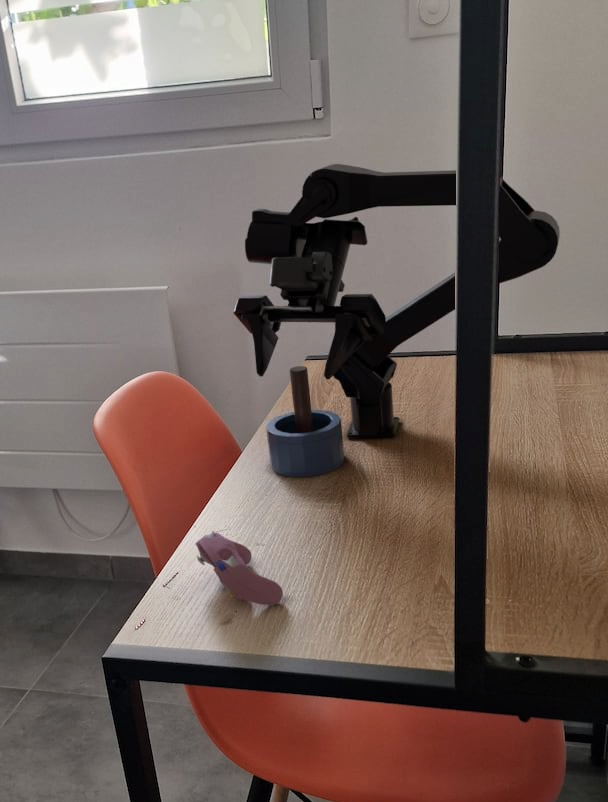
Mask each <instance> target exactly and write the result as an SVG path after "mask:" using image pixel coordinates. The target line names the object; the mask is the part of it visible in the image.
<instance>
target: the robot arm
mask: <svg viewBox="0 0 608 802" xmlns="http://www.w3.org/2000/svg"><path fill="white" fill-rule="evenodd" d="M438 206H441V207H442V206H443V207H444V206H445V207H446V206H457V205H456V170H453V169H452V170H423V171H420V170H419V171H391V172H390V171H389V172H383V171H378V170H373V169H369V168H365V167H361V166H354V165H350V164H349V165H348V164H342V163H332V164H328V165H326V166H323V167H320V168H318V169H316V170H314V171H312V172H310V174H309V175H308V176H307V177H306V178H305V180H304V183H303V185H302V191H301V197H300V198H299V200H298V201H297V203H296V204H295V205H294V206H293V208H291V210H290V211H288V212H287V211H274V210H269V209H268V208H267V209H266V208H257V209H254V210H253V211H251V221H250V223H249V226H248V229H247V234H246V238H245V239H244V252H245V256H246V257H245V258H246V260H247V261H248V263H253V264H262V265H270V266H271V268H270V277H269V286H270V287H272V288H274V287H275V288H278V289H280V295H279V296H280V298H282V299H283V301H287V302H288V303H287V305H274V303H273V302H272V301H271V299H270V298H269V297H268V296H267V295H265V294H264V295H242V296H240V297H238V299H237V301H236V302H235V306H234V310H233V312H232V313H233V315H234V316H235V317H236V318H237V319H238V321H239V322H240V323H241V324H242V325H243V326H244V328H245V329H246V330H247V331H248V332H249V333H250V334H251V335H252V339H253V347H254V358H255V368H256V369H255V370H256V374H257V375H258V377H261V378H263V377H264V375H265V373H266V371H267V370H268V367H269V364H270V362H271V359H272V356H273V354H274V350H275V349H276V346H277V343H278V341H279V335H277V334H276V333H277V332H278V331H280V328H281V325H282V323H312V324H313V323H314V324H315V323H324V324H325V323H326V324H327V323H329V324H331V323H333V324H334V335H333V337H332V341H331V344H330V348H329V351H328V355H327V358H326V362H325V365H324V371H323V372H324V373H323V377H324V378H325V379H326V380H330V379H331V378H332V377H333V378H334V379H335V380H337V381H338V382H339V385H340V387H341V388H342V390H343V393H344V396H345V397H346V398H349V401H350V413H351V423H350V426H349V428H348V430H347V431H346V438H348V439H349V438H351V439H352V438H356V439H357V438H358V439H359V438H393V437H395V435H396V432H397V429H398V427H399V424H400V417H399V416H394V401H393V385H392V383H391V382H390V381H391V380H392V379H393V378H394V376H395V373H396V370H397V367H398V363H397V362H396V361H395V360H394V359H393V358H391V356H390V354H391V353H392V352H393V351H394V350H396V348H398V346H401V345H402V344H403V343H405V342H406V341H408V340H410V339H411V338H413V337H414V336H416V335H417V334H419V333H420V332H422V331H424V330H426V329H427V328H428V327H431V325H433V324H435V323H436V322H437V321H440V320H441V319H442V318H444V317H446V316H447V315H449V314H450V313H452V312H453V311H455V310H456V309H455V272H453V273H452V274H450V275H448V276H447V277H446V278H444V279H442V280H441V281H439V282H438V283H437V284H435V285H433V286H432V287H430V288H429V289H428V290H426V291H425V292H423V293H421V294H420V295H419V296H416V298H414V299H412V300H411V301H409V302H408V303H406V304H405V305H403V306H402V307H400V308H398V309H397V310H396V311H394V312H393V313H391V314H389V315H388V316H386V314H385V313H384V311H383V308H382V307H381V305H380V303H379V302H378V300H377V298H376V297H375V296H374V295H373V293H357V294H356V293H349V294H348V293H347V294H344V295H342V296H341V297H340V301H339V305H336V302H337V299H338V298H337V297H338V295H339V293H343V292H344V291H345V282H344V281H343V280H342V279H343V275H344V272H345V271H344V270H345V267H346V263H347V260H348V259H347V258H348V256H349V251H350V248H351V245H356V246H357V245H358V246H366V245H368V237H367V236H368V235H367V231H366V226H365V225H364V224H363V223H362V222H361V221H360V220H359V217H357V216H353V218H351V219H349V220H347V219H346V220H344V219H343V220H341V219H330V218H335V217H339V216H344V215H349V214H354V213H357V212H361V211H364V210H365V211H366V210H369V209H375V208H378V207H379V208H381V207H384V208H385V207H438ZM315 218H321V219H323V220H322V221H317V222H310V221H311V220H314V219H315ZM560 236H561V234H560V226H559V224H558V221H557V220H556V219H555V218H554V217H553V215H551V214H549V213H547V212H545V211H540V210H535V209H534V208H533V206H532V205H531V204H530V203H529V202H528V201H527V199H525V198H524V197H523V196H522V195H521V194H519V193H518V192H517V191H516V190H515V189H514V188H513V187H512V186H511V185H509V184H508V183H507V181H506V180H505V179H503V177H502V176H501V178H500V192H499V236H498V237H499V284H502V283H506V282H509V281H512V280H516V279H518V278H521V277H523V276H525V275H527V274H529V273H532V272H534V271H537V270H539V269H541V268H543V267H545V266H547V265H548V264H549V263H550V262H551V261H552V260H553V259H554V257H555V256H556V253H557V250H558V246H559V241H560V238H561V237H560ZM499 284H498V285H499Z"/></svg>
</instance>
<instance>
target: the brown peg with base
mask: <svg viewBox="0 0 608 802" xmlns="http://www.w3.org/2000/svg"><path fill="white" fill-rule="evenodd" d="M288 371H289V378H290V387H291V388H290V389H291V397H292V403H293V412H294V415H295V423H296V432H297V433H307V432H313V431H314V429H313V419H312V410H313V409H312V402H311V391H310V382H309V372H308V367H307V366H304V365H298V366H294V367H291V368H290V369H289V370H288Z"/></svg>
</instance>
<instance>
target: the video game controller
mask: <svg viewBox="0 0 608 802" xmlns="http://www.w3.org/2000/svg"><path fill="white" fill-rule="evenodd" d="M195 546H196V547H197V550H198V552H199V554H198V555H196V559H197V561H198V562H199V563H200V564H201V565H203V566H206V564H209V565H211V566H212V567H213V572H214V573H215V575H216V576H217V577H218V580H219V582H220V583H221V584H222V586H223V587H224V588H225V590H227V593H228V595H230V597H235V598H237V599H238V600H239V601H242V600H244V601H247V602H251V603H253V604H258V605H262V606H263V605H264V606H265V605H266V606H270V605H275V604H277V603H280V602H281V600H283V599H282V598H283V595H284V591H283V588H282V587H281V585H279V584H278V582H276V581H274V580H272V579H269V578H267V577H265V576H262V575H260V574H258V573H256V572H254V571H253V570H252V569H250V568H249V567H248V565H249V564H250V563H251V561H252V558H253V557H252V552H251V550H250V549H249V548H248V547H247V546H245V545H244V544H241V543H239V542H237V541H233V540H230V539H229V538H226V537H224V536H223V535H222V534H221V533H219V532H214V530H212V531H211V533H209V534H205V535H203V536H202V538H200V539H198V540H197V541H196V542H195Z"/></svg>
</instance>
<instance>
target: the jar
mask: <svg viewBox="0 0 608 802" xmlns="http://www.w3.org/2000/svg"><path fill="white" fill-rule="evenodd" d="M311 410H312V419H313V429H314V431H313V432H307V433H297V432H296V423H295V415H294V411H291V412H287V413H284V414H280V415H278V416H276V417H274V418H271V419H270V420H269V421H268V423H267V424H266V426H265V429H266V437H267V445H268V452H269V459H270V464H271V468H272V470H273V472H275V473H277V474H278V475H281V476H284V477H290V478H291V477H292V478H308V477H316V476H321V475H324V474H327V473H330V472H332V471H334V470H336V469H338V468H340V466H342V464H343V463H344V460H345V459H344V455H345V450H344V439H343V437H344V436H343V427H342V419H341V417H340V416H339V414H337V413H335V412H333V411H329V410H323V409H311Z"/></svg>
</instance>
